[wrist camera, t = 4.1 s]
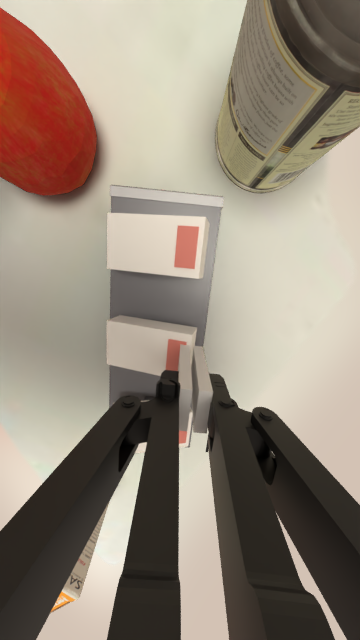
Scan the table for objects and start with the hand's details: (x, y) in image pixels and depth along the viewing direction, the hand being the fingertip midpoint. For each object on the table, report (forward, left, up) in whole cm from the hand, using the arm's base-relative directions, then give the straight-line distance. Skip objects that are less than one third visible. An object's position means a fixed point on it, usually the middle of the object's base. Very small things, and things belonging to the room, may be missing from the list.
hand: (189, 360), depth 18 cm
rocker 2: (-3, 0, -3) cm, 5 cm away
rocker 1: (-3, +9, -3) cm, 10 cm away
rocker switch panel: (-3, 0, -9) cm, 9 cm away
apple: (-15, +18, -9) cm, 25 cm away
